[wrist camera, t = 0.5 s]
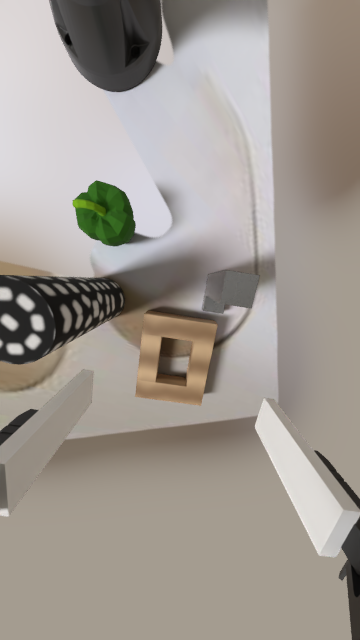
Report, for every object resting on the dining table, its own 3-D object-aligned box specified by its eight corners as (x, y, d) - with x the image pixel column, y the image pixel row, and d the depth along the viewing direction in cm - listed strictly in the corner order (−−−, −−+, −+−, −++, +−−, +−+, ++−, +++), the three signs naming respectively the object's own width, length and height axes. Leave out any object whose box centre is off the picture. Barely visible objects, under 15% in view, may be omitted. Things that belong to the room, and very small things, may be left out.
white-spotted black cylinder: (133, 299, 35) (74, 323, 16) (106, 326, 36) (21, 380, 17) (101, 269, 34) (-6, 253, 14) (75, 298, 35) (-56, 321, 16)
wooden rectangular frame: (147, 310, 36) (144, 313, 32) (214, 320, 36) (217, 324, 33) (139, 386, 40) (135, 396, 36) (199, 394, 40) (200, 405, 37)
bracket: (208, 274, 34) (226, 270, 20) (228, 277, 34) (259, 275, 20) (201, 308, 35) (215, 326, 22) (220, 311, 36) (245, 331, 22)
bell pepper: (148, 214, 32) (134, 185, 22) (132, 257, 33) (112, 247, 24) (105, 192, 31) (70, 152, 21) (90, 237, 33) (52, 219, 23)
